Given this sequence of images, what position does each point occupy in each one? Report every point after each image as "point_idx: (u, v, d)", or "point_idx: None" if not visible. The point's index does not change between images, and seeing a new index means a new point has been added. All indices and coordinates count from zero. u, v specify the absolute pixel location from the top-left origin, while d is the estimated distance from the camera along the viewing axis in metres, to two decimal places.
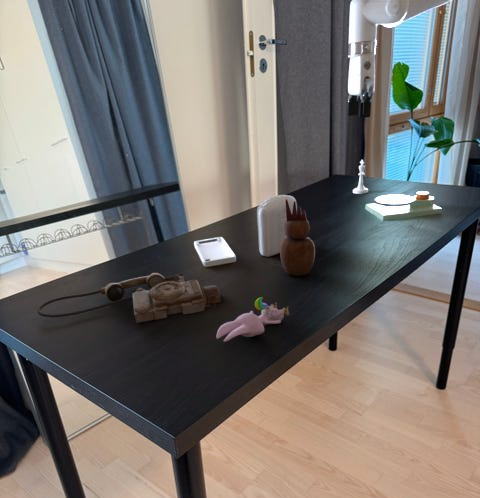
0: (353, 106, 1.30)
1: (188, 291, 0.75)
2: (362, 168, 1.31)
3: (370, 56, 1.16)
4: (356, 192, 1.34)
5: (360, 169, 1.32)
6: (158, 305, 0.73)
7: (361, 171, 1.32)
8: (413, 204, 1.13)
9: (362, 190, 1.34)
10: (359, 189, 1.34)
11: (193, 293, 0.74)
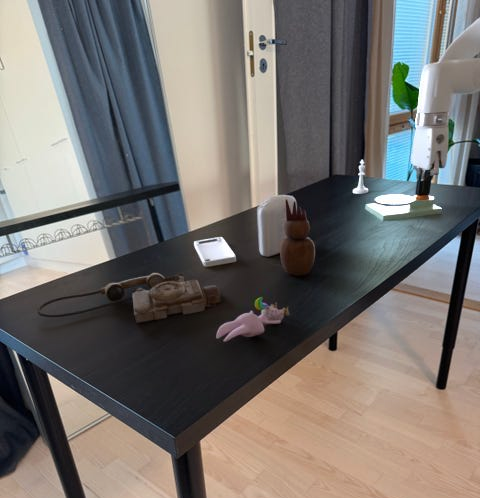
0: None
1: (188, 291, 0.75)
2: (362, 168, 1.31)
3: (443, 128, 1.01)
4: (356, 192, 1.34)
5: (360, 169, 1.32)
6: (158, 305, 0.73)
7: (361, 171, 1.32)
8: (413, 204, 1.13)
9: (362, 190, 1.34)
10: (359, 189, 1.34)
11: (193, 293, 0.74)
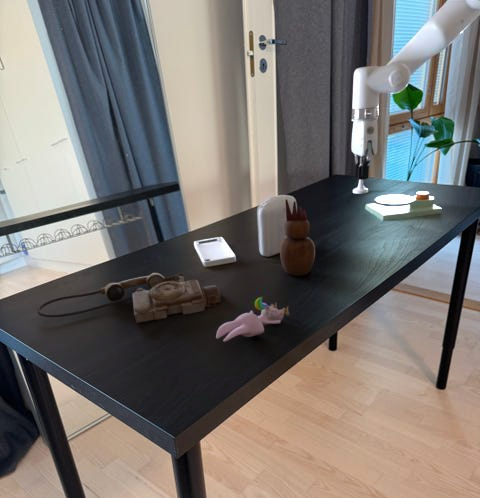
0: None
1: (188, 291, 0.75)
2: None
3: (372, 121, 1.21)
4: (356, 192, 1.34)
5: None
6: (158, 305, 0.73)
7: None
8: (413, 204, 1.13)
9: (362, 190, 1.34)
10: (359, 189, 1.34)
11: (193, 293, 0.74)
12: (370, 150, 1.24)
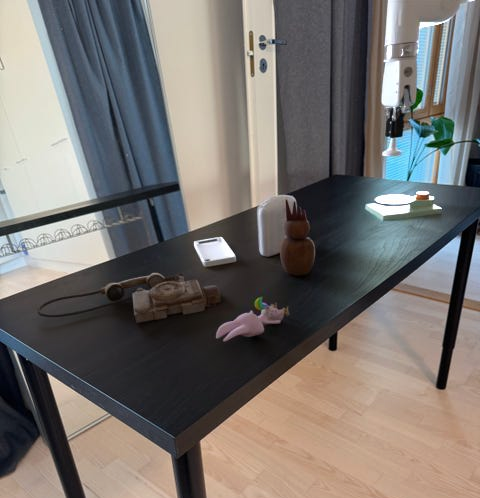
0: None
1: (188, 291, 0.75)
2: None
3: (411, 60, 0.96)
4: (387, 154, 1.09)
5: None
6: (158, 305, 0.73)
7: None
8: (413, 204, 1.13)
9: (394, 152, 1.08)
10: (391, 151, 1.09)
11: (193, 293, 0.74)
12: (407, 98, 0.99)
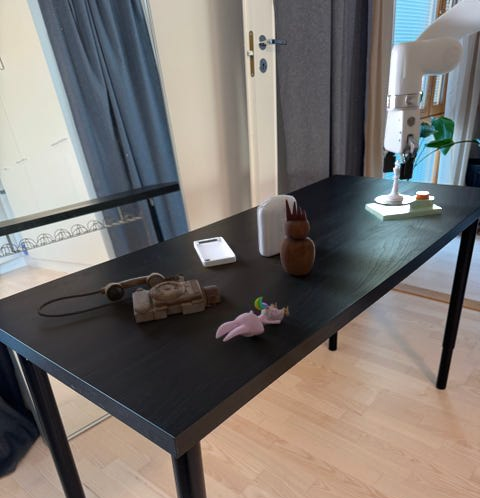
0: (390, 162, 1.12)
1: (188, 291, 0.75)
2: (398, 170, 1.08)
3: (414, 111, 0.98)
4: (390, 199, 1.11)
5: (395, 172, 1.08)
6: (158, 305, 0.73)
7: (396, 174, 1.09)
8: (413, 204, 1.13)
9: (397, 197, 1.10)
10: (393, 196, 1.11)
11: (193, 293, 0.74)
12: None
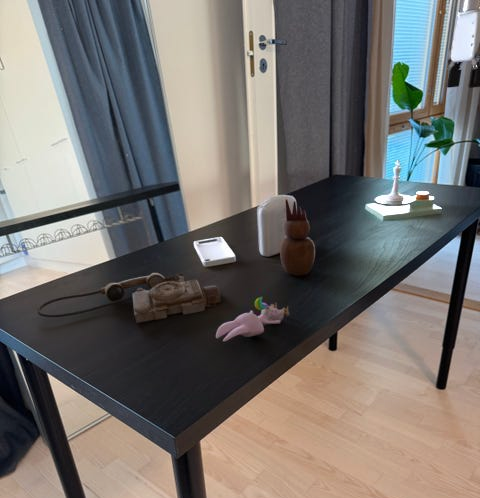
0: (455, 76, 1.12)
1: (188, 291, 0.75)
2: (398, 170, 1.08)
3: None
4: (390, 199, 1.11)
5: (395, 172, 1.08)
6: (158, 305, 0.73)
7: (396, 174, 1.09)
8: (413, 204, 1.13)
9: (397, 197, 1.10)
10: (393, 196, 1.11)
11: (193, 293, 0.74)
12: None
